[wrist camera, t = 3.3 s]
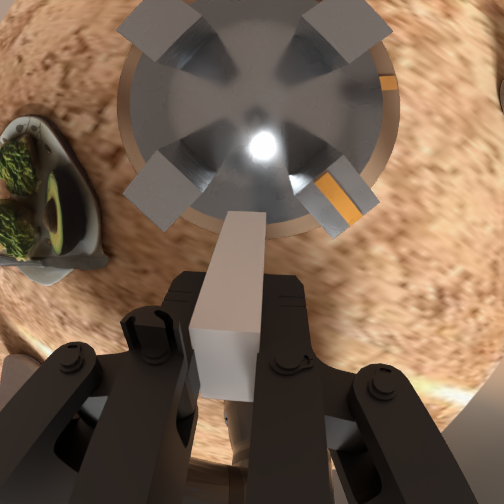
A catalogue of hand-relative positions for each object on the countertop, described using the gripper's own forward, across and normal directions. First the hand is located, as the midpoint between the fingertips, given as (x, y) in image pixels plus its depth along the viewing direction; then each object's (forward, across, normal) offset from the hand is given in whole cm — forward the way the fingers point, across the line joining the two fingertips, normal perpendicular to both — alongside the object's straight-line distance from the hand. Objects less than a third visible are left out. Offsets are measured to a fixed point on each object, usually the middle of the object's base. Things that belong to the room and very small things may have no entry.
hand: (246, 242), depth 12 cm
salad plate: (+12, -22, -2) cm, 25 cm away
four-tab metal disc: (+9, 0, +5) cm, 11 cm away
